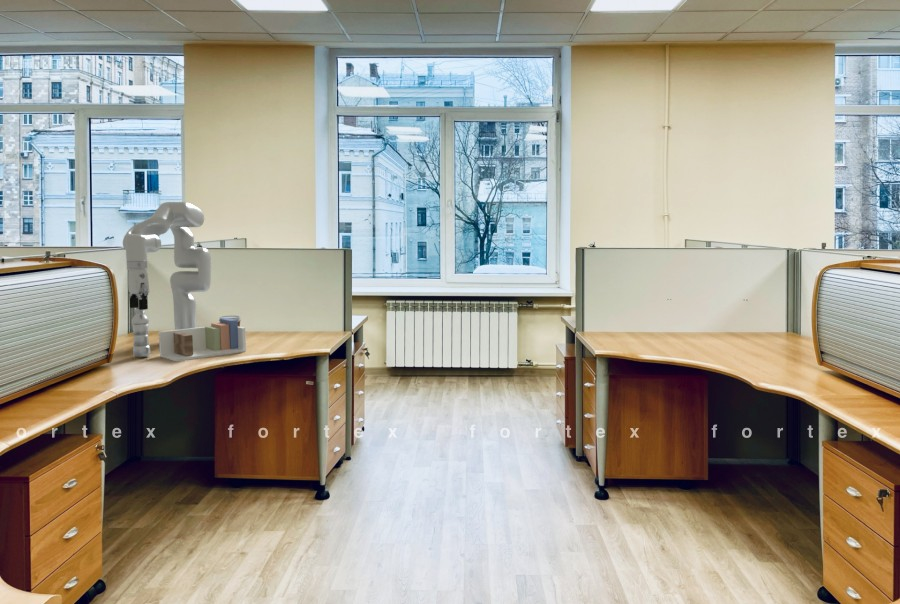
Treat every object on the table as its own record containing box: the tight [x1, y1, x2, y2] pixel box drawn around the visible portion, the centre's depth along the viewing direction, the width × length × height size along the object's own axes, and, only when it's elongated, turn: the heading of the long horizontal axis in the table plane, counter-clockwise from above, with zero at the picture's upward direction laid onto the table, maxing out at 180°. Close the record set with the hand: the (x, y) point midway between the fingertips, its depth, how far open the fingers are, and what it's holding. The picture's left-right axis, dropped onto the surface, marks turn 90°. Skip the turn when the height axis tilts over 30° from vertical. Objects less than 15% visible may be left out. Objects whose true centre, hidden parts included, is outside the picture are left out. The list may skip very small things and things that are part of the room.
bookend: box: [173, 332, 193, 356], centre depth 286 cm, size 11×3×8 cm, turn 44°
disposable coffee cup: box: [218, 315, 242, 327], centre depth 317 cm, size 10×10×12 cm
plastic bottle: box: [131, 307, 151, 358], centre depth 285 cm, size 6×7×20 cm
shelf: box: [158, 318, 247, 362], centre depth 292 cm, size 15×30×13 cm, turn 134°
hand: (138, 308), depth 283 cm, fingers open, 9 cm apart
